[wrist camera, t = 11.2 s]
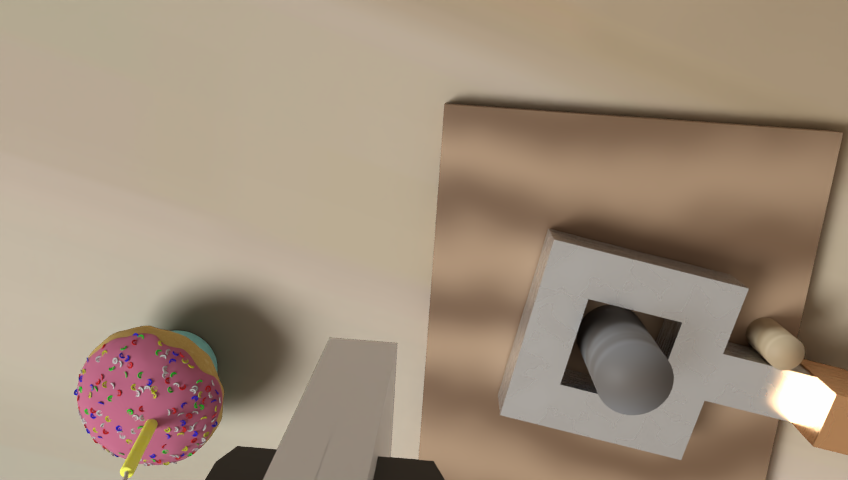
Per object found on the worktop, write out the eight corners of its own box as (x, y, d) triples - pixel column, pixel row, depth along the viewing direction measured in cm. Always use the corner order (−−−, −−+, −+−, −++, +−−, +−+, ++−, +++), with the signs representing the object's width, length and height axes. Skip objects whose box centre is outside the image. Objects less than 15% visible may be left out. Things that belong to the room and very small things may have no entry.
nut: (497, 394, 42) (502, 436, 37) (548, 228, 39) (560, 250, 35) (799, 470, 42) (841, 520, 38) (871, 310, 39) (926, 343, 35)
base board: (445, 103, 39) (441, 111, 32) (831, 130, 38) (913, 145, 31) (416, 493, 46) (408, 570, 39) (745, 523, 45) (797, 607, 38)
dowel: (749, 315, 40) (771, 335, 37) (783, 318, 40) (808, 338, 37) (742, 346, 41) (764, 368, 38) (776, 349, 41) (800, 372, 38)
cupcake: (256, 323, 43) (182, 419, 32) (232, 437, 45) (154, 565, 34) (126, 288, 43) (3, 372, 32) (108, 404, 45) (-13, 522, 34)
